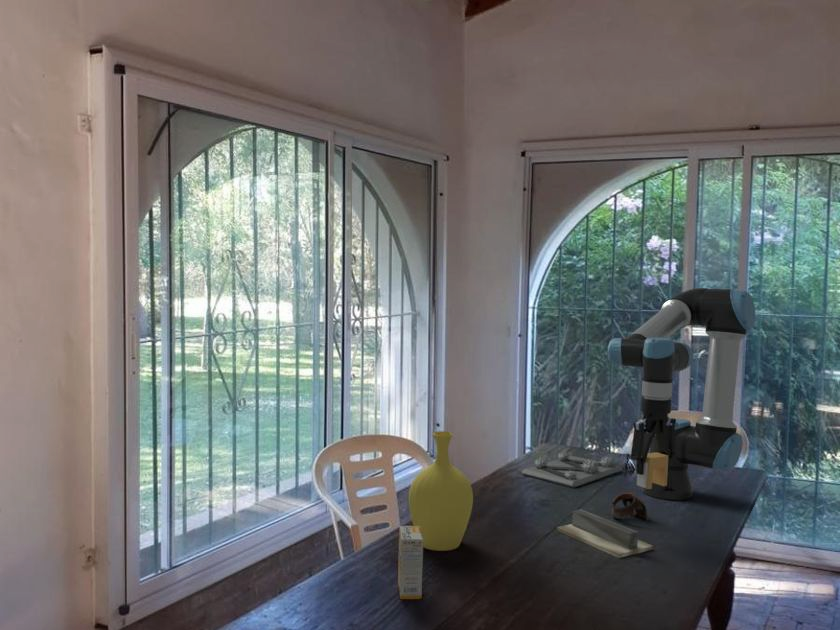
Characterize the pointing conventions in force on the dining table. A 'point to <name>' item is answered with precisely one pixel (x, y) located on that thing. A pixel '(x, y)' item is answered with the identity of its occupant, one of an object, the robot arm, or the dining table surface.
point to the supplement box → (410, 562)
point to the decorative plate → (571, 470)
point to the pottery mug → (629, 506)
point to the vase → (441, 500)
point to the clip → (657, 469)
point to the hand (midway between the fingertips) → (651, 484)
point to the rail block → (604, 534)
